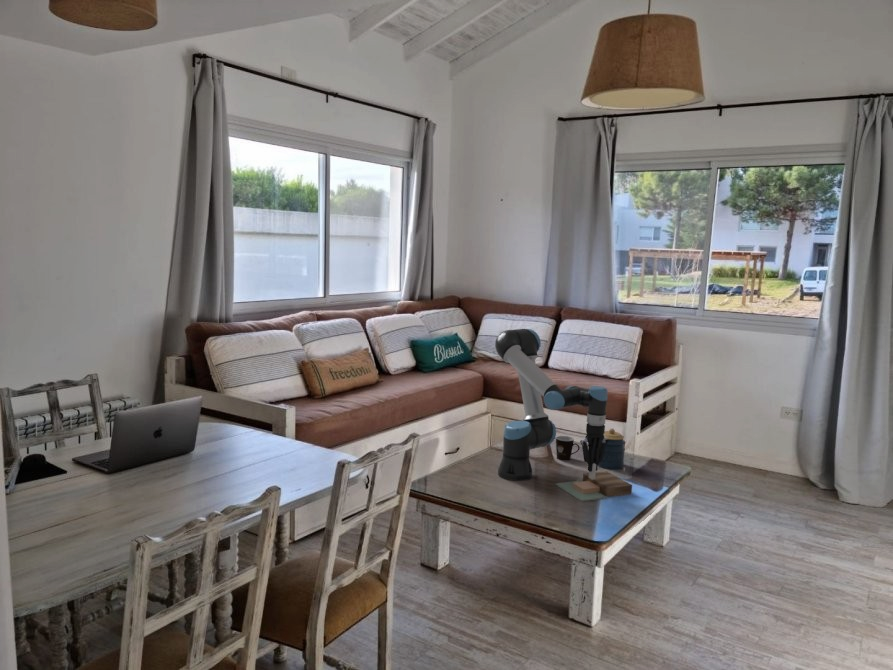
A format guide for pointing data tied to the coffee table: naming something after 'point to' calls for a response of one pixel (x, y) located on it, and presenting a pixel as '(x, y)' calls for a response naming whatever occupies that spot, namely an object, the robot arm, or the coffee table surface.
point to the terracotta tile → (586, 487)
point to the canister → (613, 451)
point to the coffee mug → (564, 447)
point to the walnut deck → (609, 484)
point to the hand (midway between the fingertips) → (591, 478)
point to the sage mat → (580, 496)
